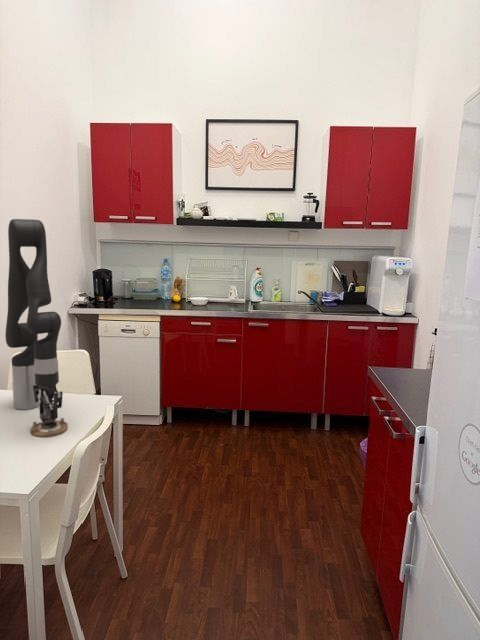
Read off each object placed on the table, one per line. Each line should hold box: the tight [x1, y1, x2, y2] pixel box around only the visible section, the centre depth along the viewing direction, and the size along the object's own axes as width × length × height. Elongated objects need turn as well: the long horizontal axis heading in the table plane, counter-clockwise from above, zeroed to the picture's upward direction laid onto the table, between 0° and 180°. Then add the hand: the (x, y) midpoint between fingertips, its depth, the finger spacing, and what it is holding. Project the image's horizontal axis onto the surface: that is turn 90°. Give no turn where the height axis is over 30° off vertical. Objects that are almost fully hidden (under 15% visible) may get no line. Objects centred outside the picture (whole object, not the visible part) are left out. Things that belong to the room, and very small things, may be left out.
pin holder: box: [30, 417, 69, 438], centre depth 157 cm, size 12×12×2 cm
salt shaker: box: [39, 396, 57, 428], centre depth 156 cm, size 6×6×12 cm
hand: (48, 416), depth 157 cm, fingers closed on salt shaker, 5 cm apart
